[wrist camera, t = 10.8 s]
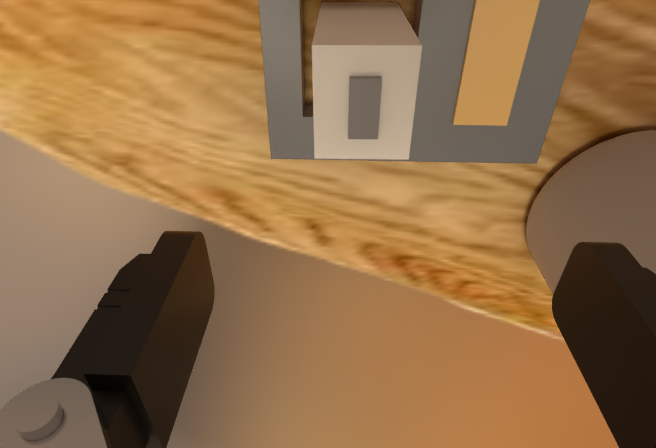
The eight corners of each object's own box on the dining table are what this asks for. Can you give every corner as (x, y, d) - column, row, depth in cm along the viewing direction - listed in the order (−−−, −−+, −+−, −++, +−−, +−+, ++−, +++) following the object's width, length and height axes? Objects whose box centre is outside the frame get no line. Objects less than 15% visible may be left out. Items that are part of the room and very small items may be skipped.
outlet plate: (594, -82, 21) (620, -81, 19) (525, 148, 28) (538, 165, 26) (258, -85, 21) (250, -84, 19) (275, 144, 28) (270, 161, 26)
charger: (396, 2, 23) (423, 48, 15) (389, 88, 26) (409, 164, 18) (321, 1, 23) (311, 47, 15) (322, 87, 26) (313, 163, 18)
